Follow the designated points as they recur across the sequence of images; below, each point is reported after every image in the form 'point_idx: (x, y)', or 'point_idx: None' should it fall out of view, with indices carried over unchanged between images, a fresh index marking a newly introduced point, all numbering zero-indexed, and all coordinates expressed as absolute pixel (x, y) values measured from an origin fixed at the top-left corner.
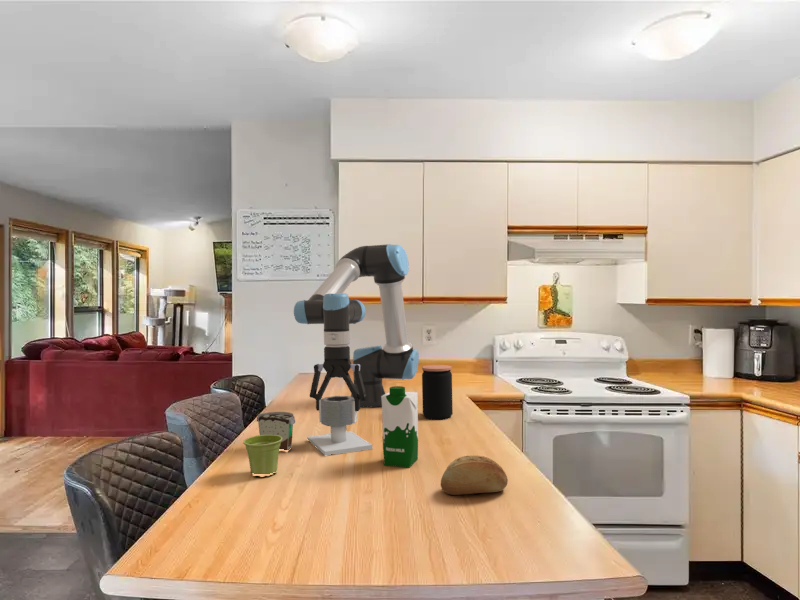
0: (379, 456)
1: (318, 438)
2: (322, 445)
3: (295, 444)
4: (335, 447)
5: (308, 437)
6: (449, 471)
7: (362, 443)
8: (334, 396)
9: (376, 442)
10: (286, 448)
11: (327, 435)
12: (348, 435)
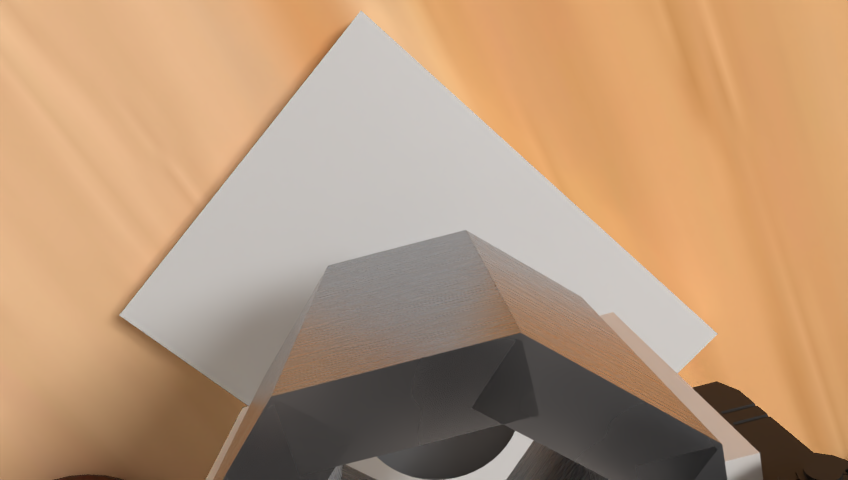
0: (796, 437)
1: (239, 326)
2: (382, 466)
3: (121, 411)
4: (494, 473)
5: (143, 329)
6: None
7: (634, 328)
8: (282, 461)
9: (669, 158)
10: None
11: (252, 224)
12: (423, 162)
